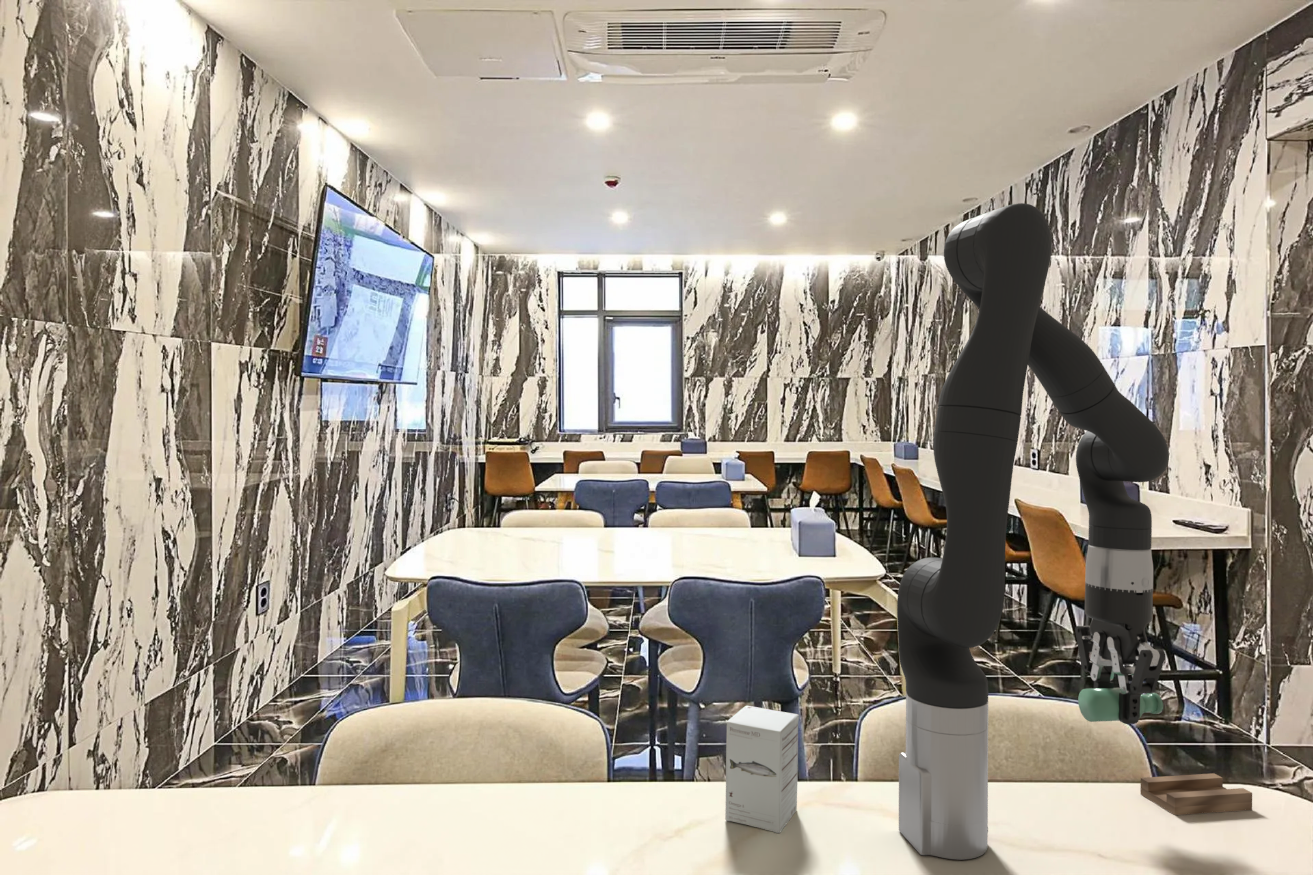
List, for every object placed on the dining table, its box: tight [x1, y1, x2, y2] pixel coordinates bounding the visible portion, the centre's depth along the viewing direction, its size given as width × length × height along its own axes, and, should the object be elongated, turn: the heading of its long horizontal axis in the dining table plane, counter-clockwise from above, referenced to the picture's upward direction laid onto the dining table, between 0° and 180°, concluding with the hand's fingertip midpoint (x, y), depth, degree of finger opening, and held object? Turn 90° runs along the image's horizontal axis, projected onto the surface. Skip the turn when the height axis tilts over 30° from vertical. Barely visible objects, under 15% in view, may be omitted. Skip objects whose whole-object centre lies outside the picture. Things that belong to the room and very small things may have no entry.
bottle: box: [1077, 687, 1164, 723], centre depth 104 cm, size 9×4×4 cm, turn 98°
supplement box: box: [724, 704, 800, 834], centre depth 103 cm, size 7×7×13 cm
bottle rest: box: [1140, 772, 1253, 816], centre depth 107 cm, size 11×6×2 cm, turn 98°
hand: (1115, 715), depth 104 cm, fingers closed on bottle, 4 cm apart
